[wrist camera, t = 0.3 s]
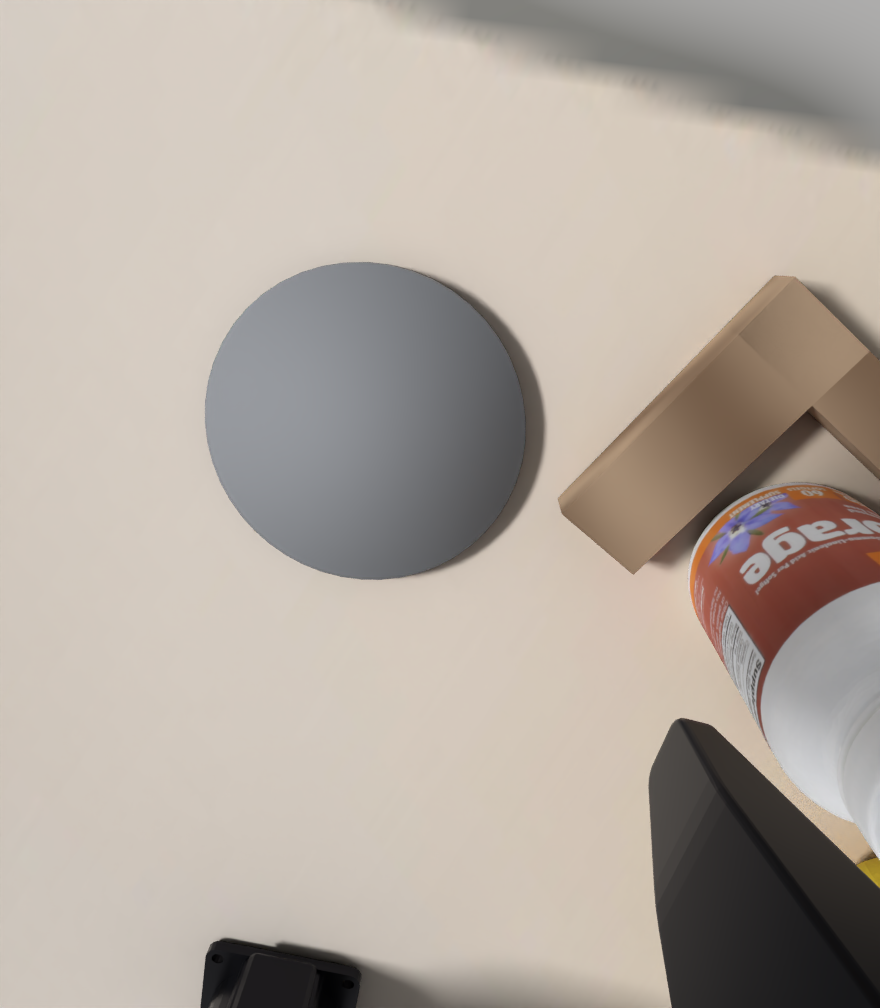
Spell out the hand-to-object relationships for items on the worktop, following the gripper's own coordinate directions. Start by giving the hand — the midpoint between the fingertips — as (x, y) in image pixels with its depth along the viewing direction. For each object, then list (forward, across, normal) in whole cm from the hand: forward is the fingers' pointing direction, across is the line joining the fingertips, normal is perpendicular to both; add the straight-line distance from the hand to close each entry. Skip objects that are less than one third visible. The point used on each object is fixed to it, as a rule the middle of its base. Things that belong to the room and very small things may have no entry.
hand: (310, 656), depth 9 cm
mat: (+15, +2, +2) cm, 15 cm away
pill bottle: (+15, -12, +3) cm, 20 cm away
